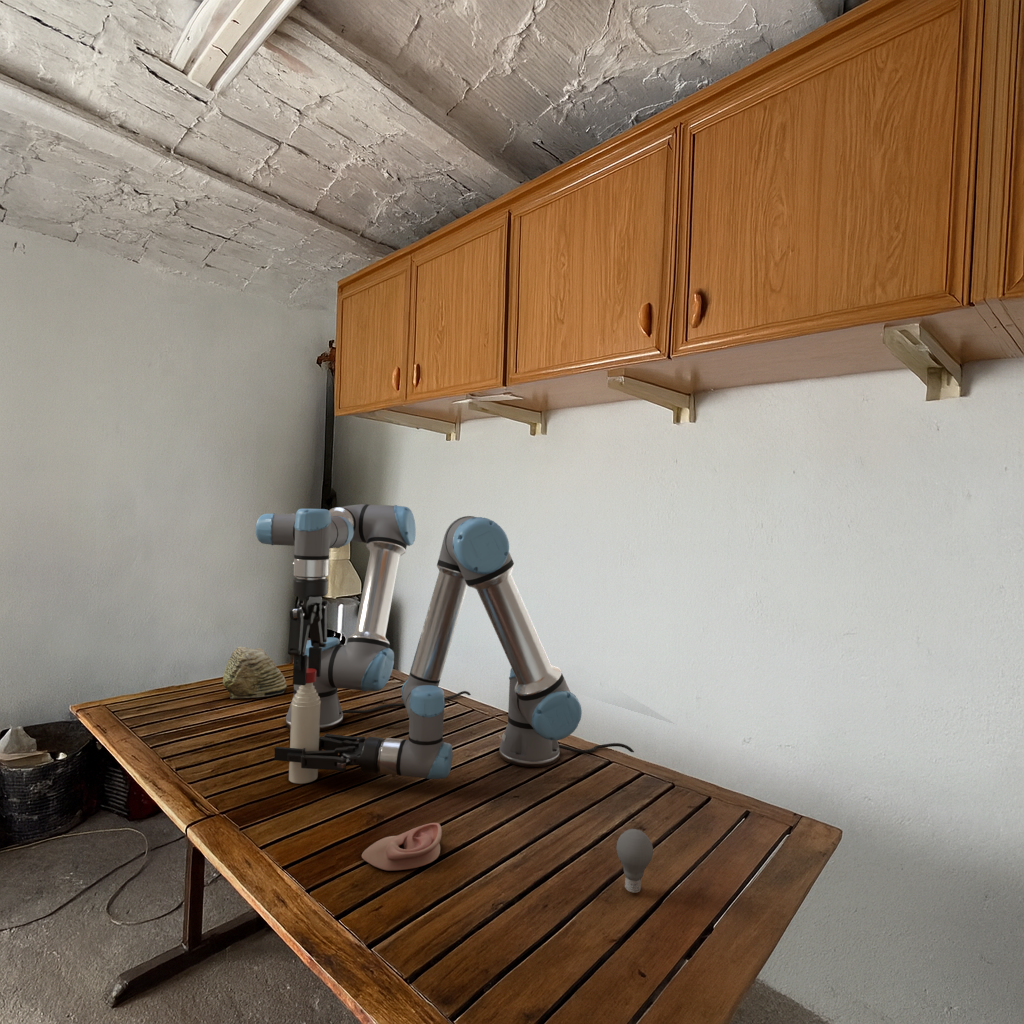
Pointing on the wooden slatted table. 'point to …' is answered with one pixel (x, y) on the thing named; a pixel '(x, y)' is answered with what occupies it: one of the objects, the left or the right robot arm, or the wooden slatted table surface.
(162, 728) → the wooden slatted table surface
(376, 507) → the left robot arm
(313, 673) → the cap
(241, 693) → the fossil
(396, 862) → the anatomical model
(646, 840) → the light bulb
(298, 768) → the bottle
